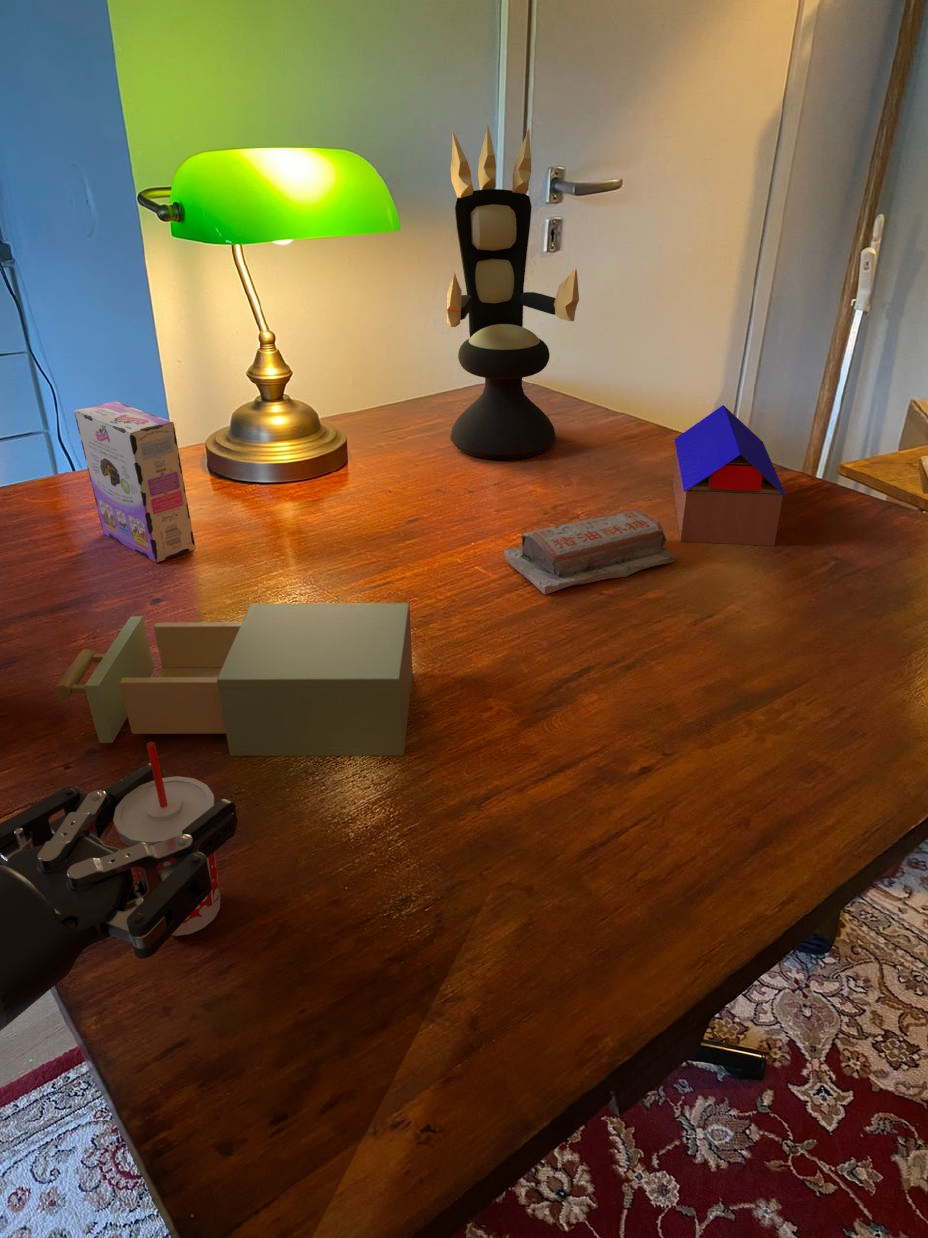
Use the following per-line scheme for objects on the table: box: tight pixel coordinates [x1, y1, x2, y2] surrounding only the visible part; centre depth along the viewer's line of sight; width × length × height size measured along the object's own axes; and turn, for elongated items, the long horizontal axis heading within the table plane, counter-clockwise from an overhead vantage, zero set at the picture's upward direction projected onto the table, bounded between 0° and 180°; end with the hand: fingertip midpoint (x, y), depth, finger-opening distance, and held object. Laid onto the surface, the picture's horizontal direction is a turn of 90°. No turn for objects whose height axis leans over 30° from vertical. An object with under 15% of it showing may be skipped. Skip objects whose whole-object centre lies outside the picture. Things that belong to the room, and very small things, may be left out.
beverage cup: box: [113, 741, 221, 937], centre depth 58 cm, size 6×6×14 cm
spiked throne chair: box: [446, 124, 580, 460], centre depth 136 cm, size 19×22×45 cm
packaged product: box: [503, 508, 677, 595], centre depth 107 cm, size 18×5×10 cm
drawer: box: [53, 615, 243, 744], centre depth 81 cm, size 18×12×6 cm, turn 89°
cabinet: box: [217, 602, 414, 757], centre depth 81 cm, size 15×13×8 cm
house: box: [671, 404, 787, 547], centre depth 118 cm, size 12×20×12 cm, turn 172°
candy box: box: [73, 400, 196, 564], centre depth 111 cm, size 14×6×16 cm, turn 46°
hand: (193, 793), depth 59 cm, fingers closed on beverage cup, 6 cm apart
